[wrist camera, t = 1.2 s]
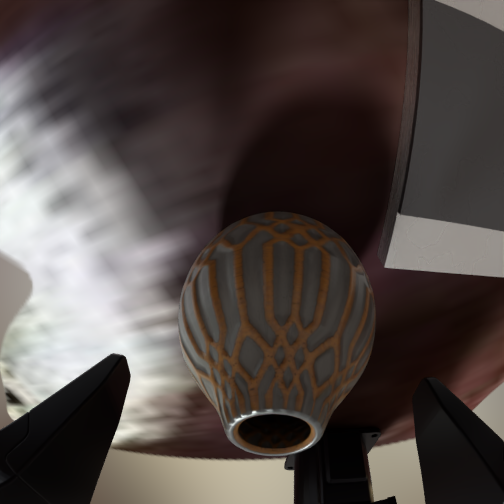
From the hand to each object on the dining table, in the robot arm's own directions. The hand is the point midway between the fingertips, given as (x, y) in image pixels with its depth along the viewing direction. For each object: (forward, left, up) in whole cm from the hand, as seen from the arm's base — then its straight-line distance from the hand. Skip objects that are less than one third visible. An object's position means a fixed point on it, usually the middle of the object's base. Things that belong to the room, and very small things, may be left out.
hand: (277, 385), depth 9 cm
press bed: (+8, -14, -7) cm, 18 cm away
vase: (0, 0, -7) cm, 7 cm away
